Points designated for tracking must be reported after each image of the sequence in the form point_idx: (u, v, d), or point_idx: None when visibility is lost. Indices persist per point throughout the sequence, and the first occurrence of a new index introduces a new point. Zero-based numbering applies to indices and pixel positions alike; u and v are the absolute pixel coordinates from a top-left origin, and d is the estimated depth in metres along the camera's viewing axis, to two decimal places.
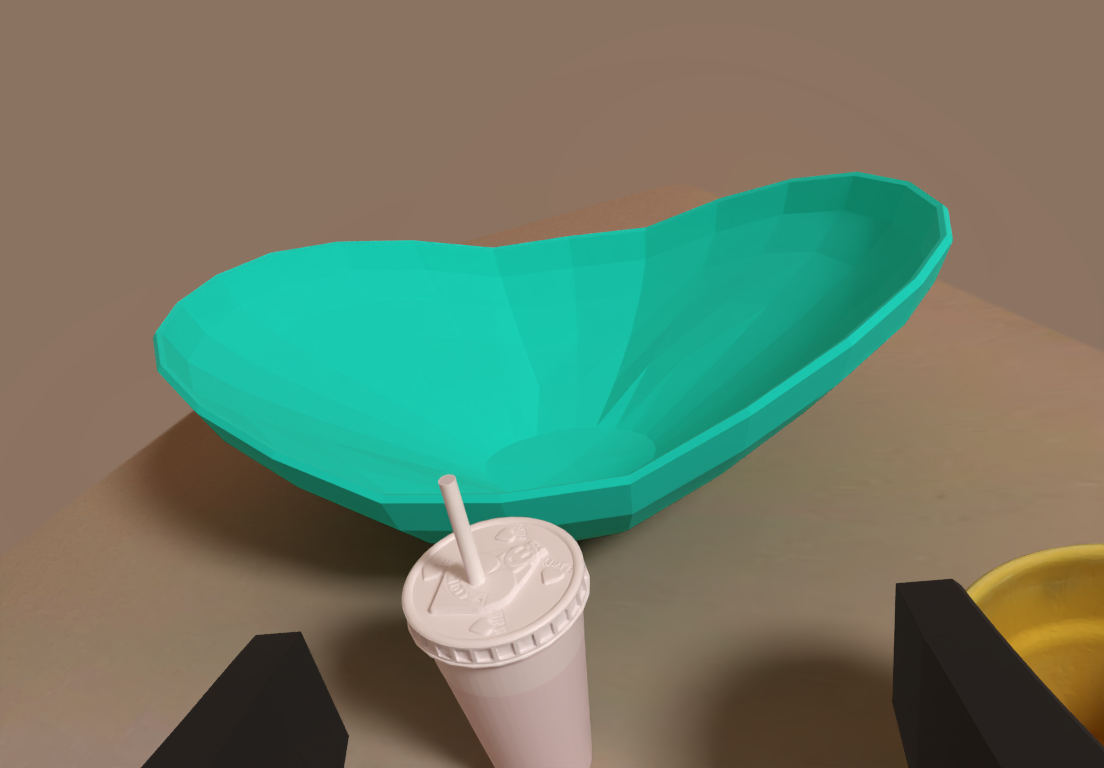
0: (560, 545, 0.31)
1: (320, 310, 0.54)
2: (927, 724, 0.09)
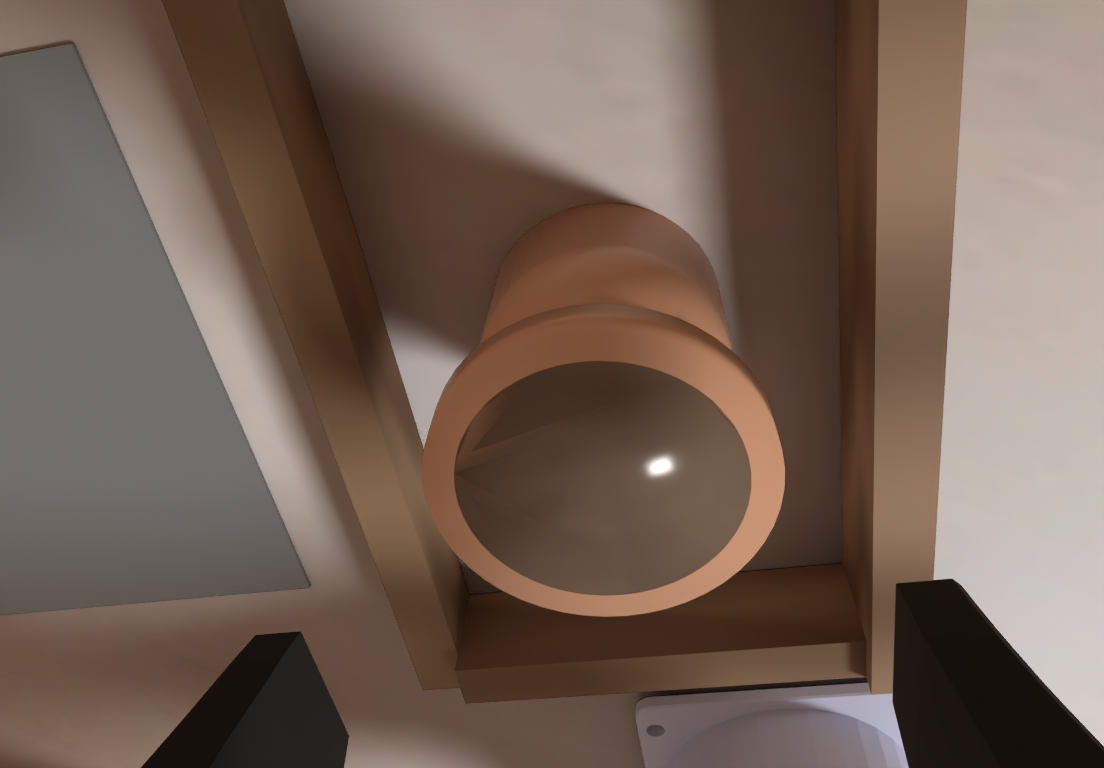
0: None
1: None
2: (927, 724, 0.09)
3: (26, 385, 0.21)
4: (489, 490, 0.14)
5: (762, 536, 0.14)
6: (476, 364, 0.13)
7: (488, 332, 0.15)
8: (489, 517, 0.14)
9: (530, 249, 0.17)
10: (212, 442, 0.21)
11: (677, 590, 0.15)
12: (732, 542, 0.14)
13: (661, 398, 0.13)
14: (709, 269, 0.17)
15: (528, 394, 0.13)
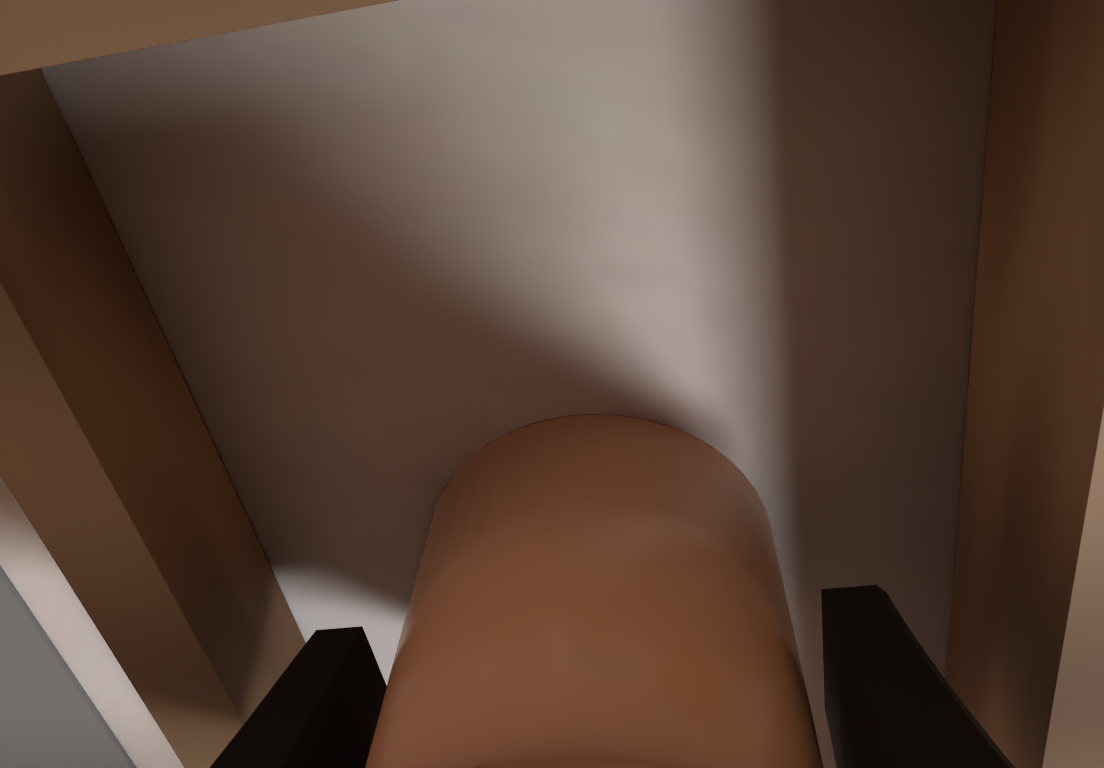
0: None
1: None
2: (847, 729, 0.09)
3: None
4: None
5: None
6: None
7: (396, 687, 0.09)
8: None
9: (477, 502, 0.11)
10: (39, 702, 0.15)
11: None
12: None
13: None
14: (761, 521, 0.11)
15: None
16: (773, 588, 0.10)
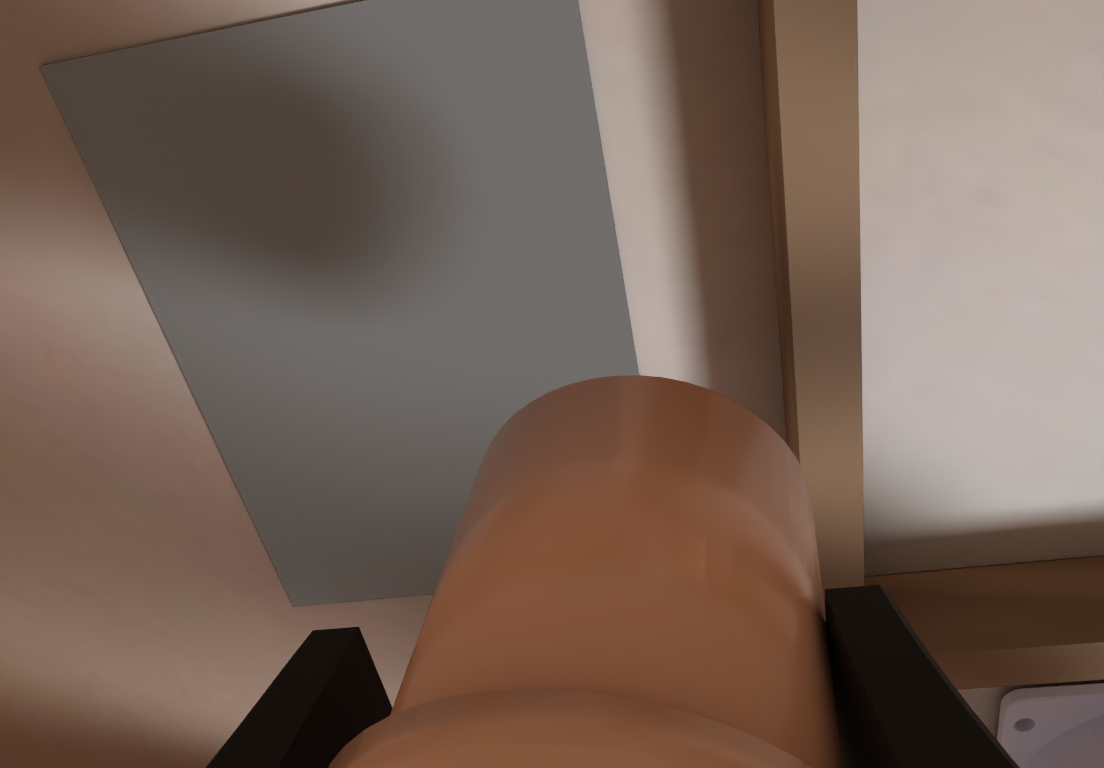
0: None
1: None
2: (851, 729, 0.09)
3: (415, 350, 0.19)
4: None
5: None
6: None
7: (430, 621, 0.10)
8: None
9: (518, 453, 0.11)
10: None
11: None
12: None
13: None
14: (798, 488, 0.11)
15: None
16: (803, 553, 0.10)
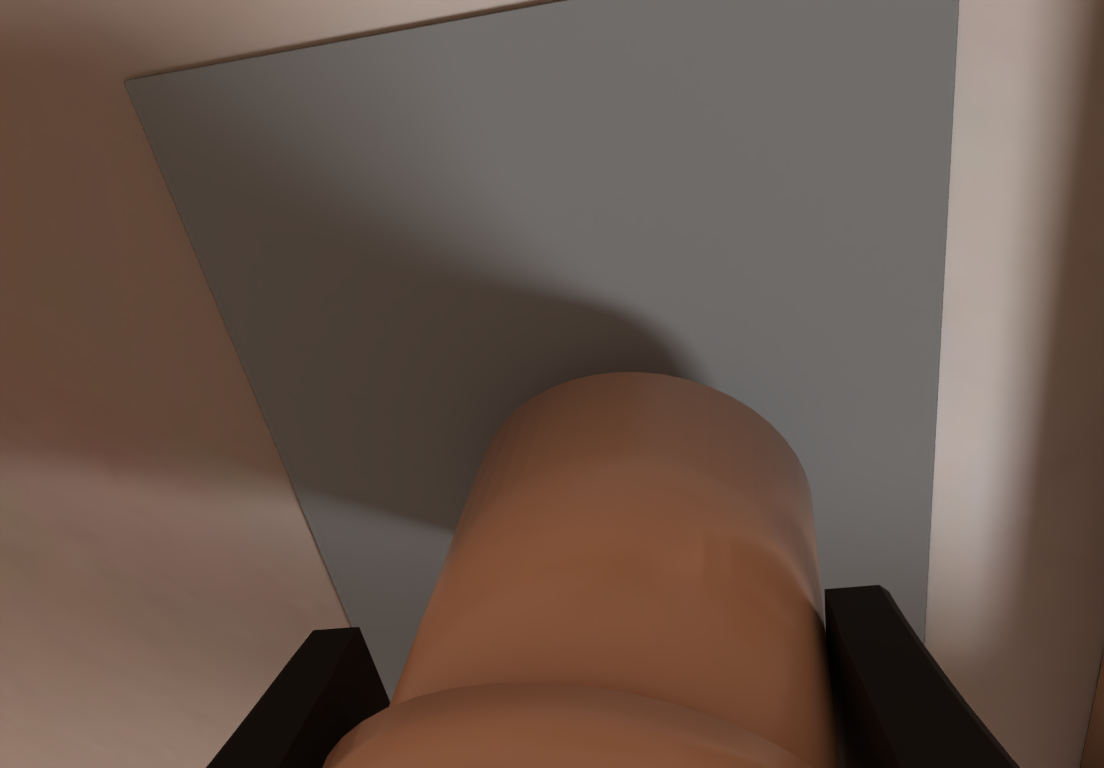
0: None
1: None
2: (850, 728, 0.09)
3: None
4: None
5: None
6: None
7: (429, 615, 0.10)
8: None
9: (518, 449, 0.11)
10: (877, 554, 0.14)
11: None
12: None
13: None
14: (797, 485, 0.11)
15: None
16: (801, 549, 0.10)
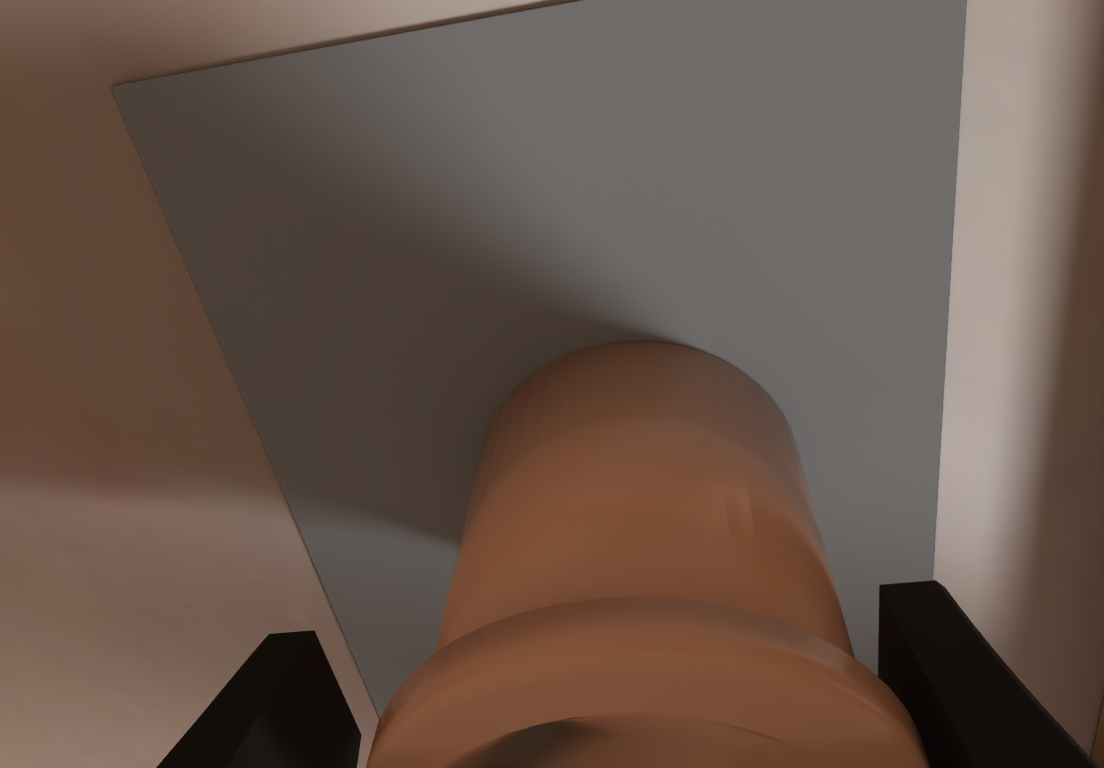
0: None
1: None
2: None
3: None
4: None
5: None
6: (434, 704, 0.08)
7: (464, 571, 0.10)
8: None
9: (530, 417, 0.12)
10: (880, 566, 0.14)
11: None
12: None
13: (751, 765, 0.07)
14: (789, 437, 0.12)
15: (521, 753, 0.08)
16: (802, 491, 0.11)
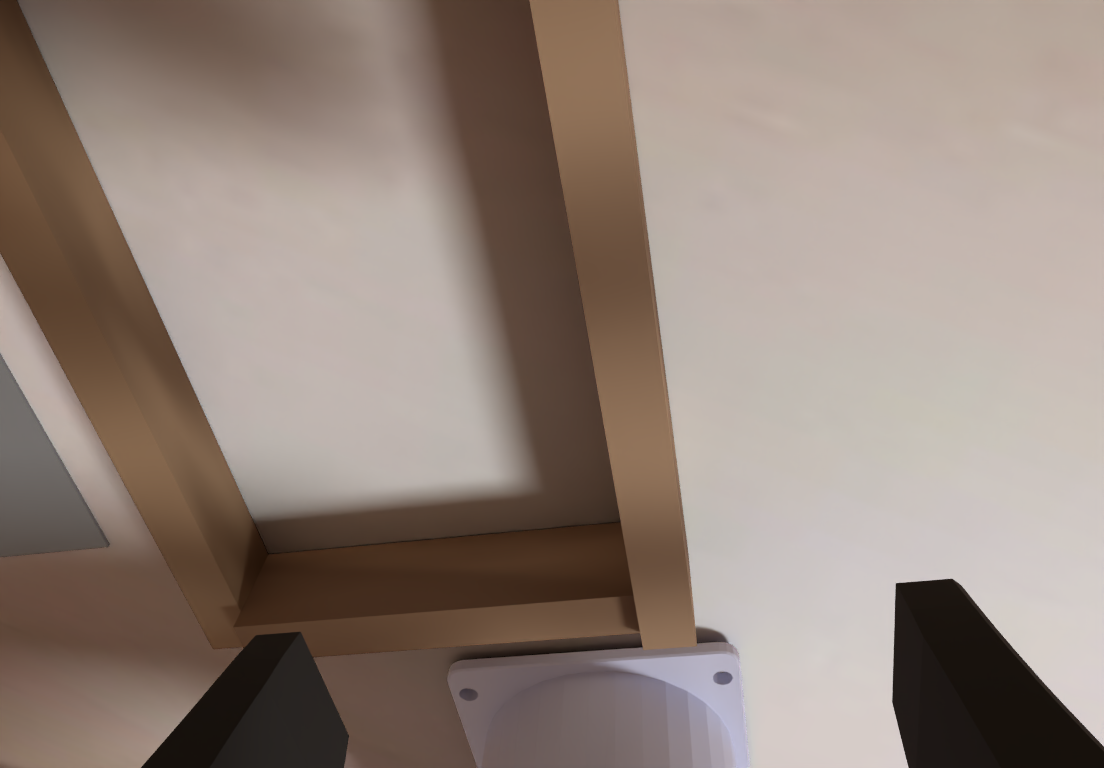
0: None
1: None
2: (927, 724, 0.09)
3: None
4: None
5: None
6: None
7: None
8: None
9: None
10: None
11: None
12: None
13: None
14: None
15: None
16: None
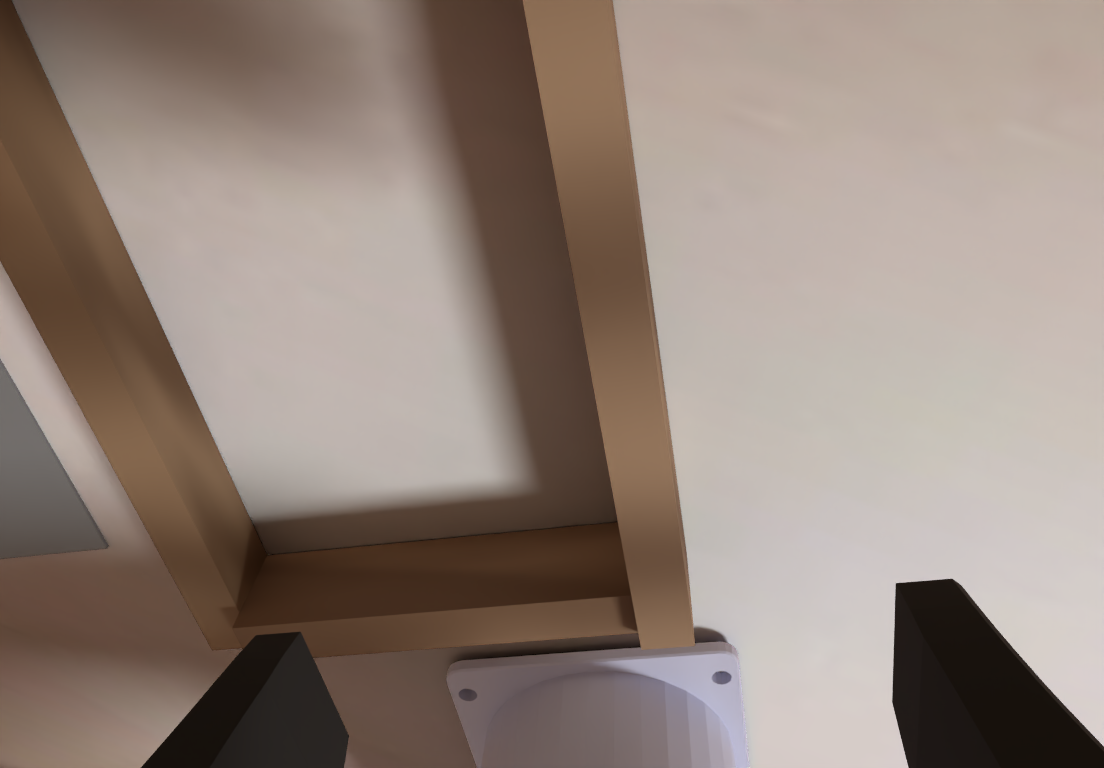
0: None
1: None
2: (927, 724, 0.09)
3: None
4: None
5: None
6: None
7: None
8: None
9: None
10: None
11: None
12: None
13: None
14: None
15: None
16: None
